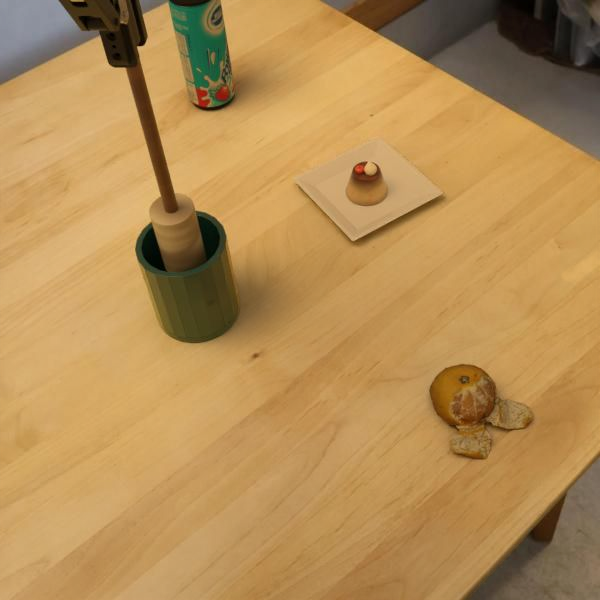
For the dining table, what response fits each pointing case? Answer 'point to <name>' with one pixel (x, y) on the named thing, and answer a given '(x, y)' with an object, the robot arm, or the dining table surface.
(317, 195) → the dessert
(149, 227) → the cup
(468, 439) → the fruit
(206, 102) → the beverage can
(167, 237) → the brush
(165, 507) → the dining table surface
